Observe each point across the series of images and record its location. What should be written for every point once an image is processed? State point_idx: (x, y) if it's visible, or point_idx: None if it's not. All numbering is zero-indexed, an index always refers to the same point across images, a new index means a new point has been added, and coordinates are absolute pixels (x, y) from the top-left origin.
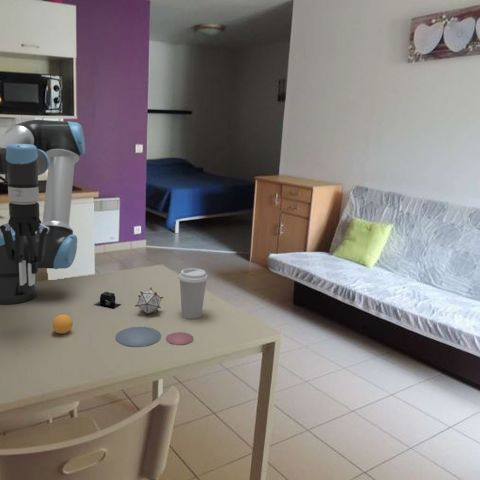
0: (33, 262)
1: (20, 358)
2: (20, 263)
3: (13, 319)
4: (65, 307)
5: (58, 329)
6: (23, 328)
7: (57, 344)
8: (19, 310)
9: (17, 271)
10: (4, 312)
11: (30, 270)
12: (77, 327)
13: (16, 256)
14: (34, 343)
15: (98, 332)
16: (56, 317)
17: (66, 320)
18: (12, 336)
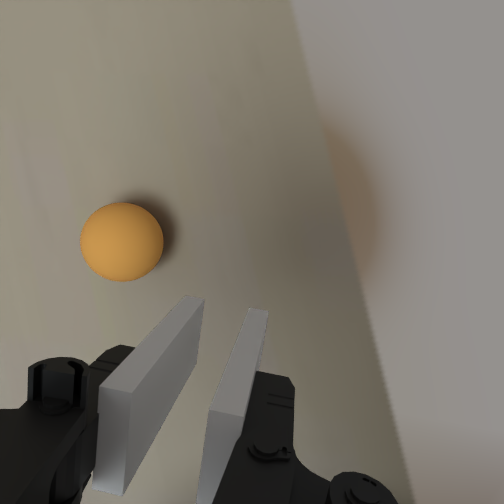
0: (35, 364)
1: (235, 14)
2: (221, 408)
3: (348, 368)
4: (182, 461)
5: (132, 204)
6: (290, 283)
7: (133, 135)
8: (345, 450)
9: (280, 382)
10: (398, 436)
11: (140, 348)
12: (99, 280)
13: (261, 499)
14: (217, 146)
15: (19, 233)
16: (129, 241)
17: (88, 223)
18: (313, 212)
